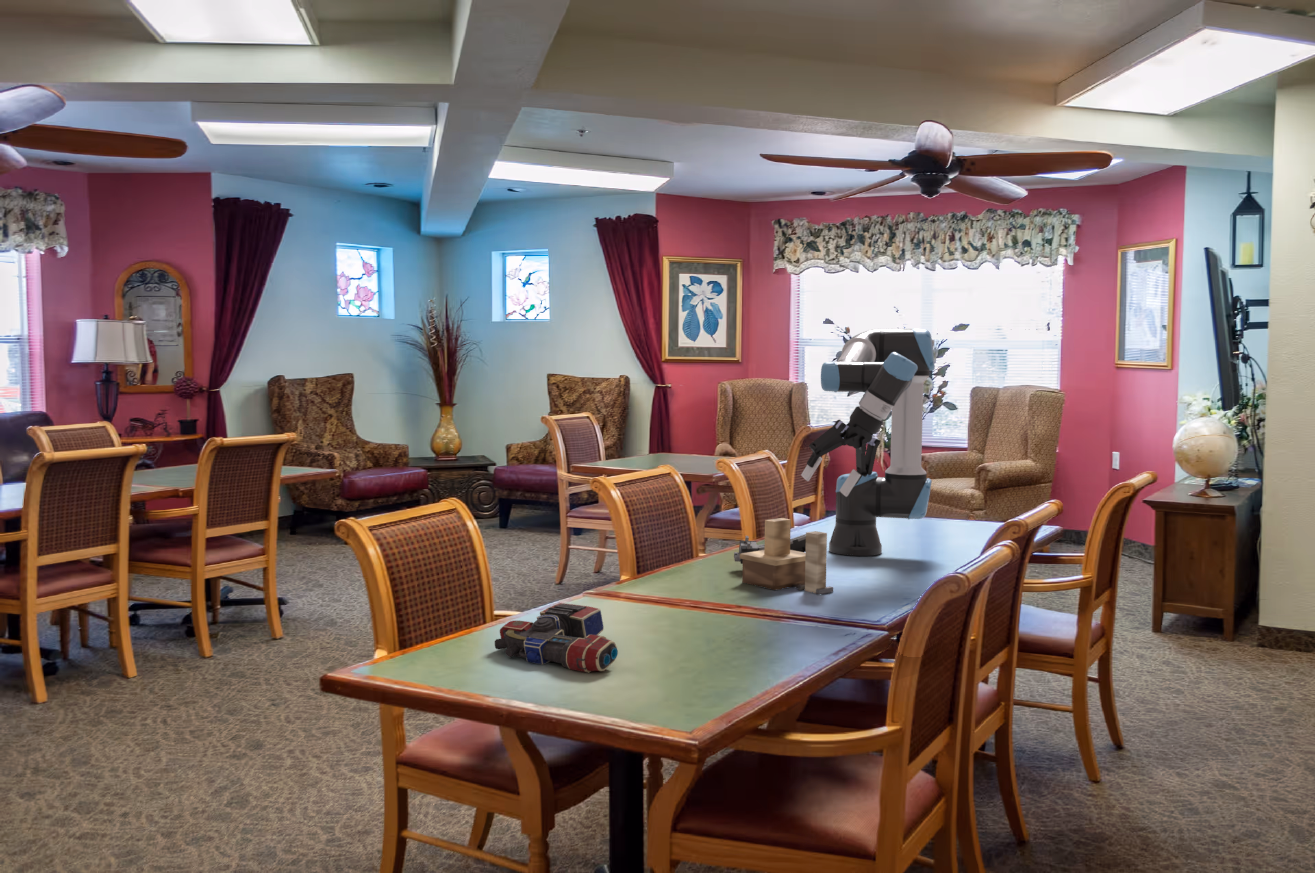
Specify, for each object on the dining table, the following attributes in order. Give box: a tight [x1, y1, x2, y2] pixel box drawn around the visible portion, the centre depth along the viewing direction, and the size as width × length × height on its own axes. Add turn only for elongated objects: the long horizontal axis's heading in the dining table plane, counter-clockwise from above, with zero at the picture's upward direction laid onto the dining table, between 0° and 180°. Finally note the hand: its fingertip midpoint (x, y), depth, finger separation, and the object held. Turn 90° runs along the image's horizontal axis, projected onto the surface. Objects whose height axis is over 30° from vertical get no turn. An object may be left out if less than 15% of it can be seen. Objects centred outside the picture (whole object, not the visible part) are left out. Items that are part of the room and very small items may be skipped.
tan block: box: [804, 531, 828, 594], centre depth 235 cm, size 4×4×14 cm
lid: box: [740, 517, 806, 566], centre depth 244 cm, size 14×12×10 cm
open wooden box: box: [741, 559, 805, 591], centre depth 244 cm, size 13×11×6 cm
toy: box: [733, 533, 806, 565], centre depth 259 cm, size 7×21×10 cm, turn 89°
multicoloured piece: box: [494, 602, 619, 674], centre depth 181 cm, size 8×25×20 cm
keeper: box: [791, 584, 834, 596], centre depth 237 cm, size 5×10×1 cm, turn 40°
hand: (824, 486), depth 243 cm, fingers open, 13 cm apart
